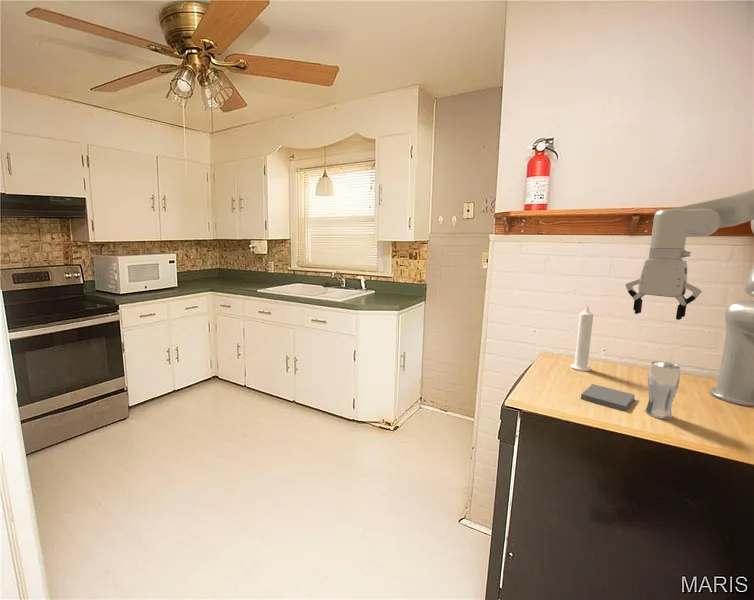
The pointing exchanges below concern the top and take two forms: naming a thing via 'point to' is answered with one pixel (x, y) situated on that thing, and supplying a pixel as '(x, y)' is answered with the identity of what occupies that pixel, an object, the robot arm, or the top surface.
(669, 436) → the top surface
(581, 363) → the candle
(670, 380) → the beer glass
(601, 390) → the slate coaster
